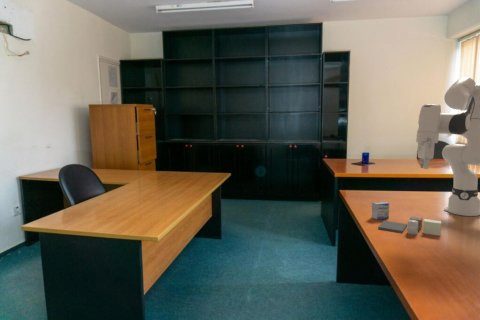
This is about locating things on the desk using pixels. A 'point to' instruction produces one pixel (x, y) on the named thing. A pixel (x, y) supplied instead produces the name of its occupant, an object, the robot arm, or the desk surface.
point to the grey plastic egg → (412, 227)
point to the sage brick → (432, 227)
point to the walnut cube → (418, 221)
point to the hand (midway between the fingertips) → (423, 168)
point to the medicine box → (380, 210)
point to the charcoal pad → (392, 226)
